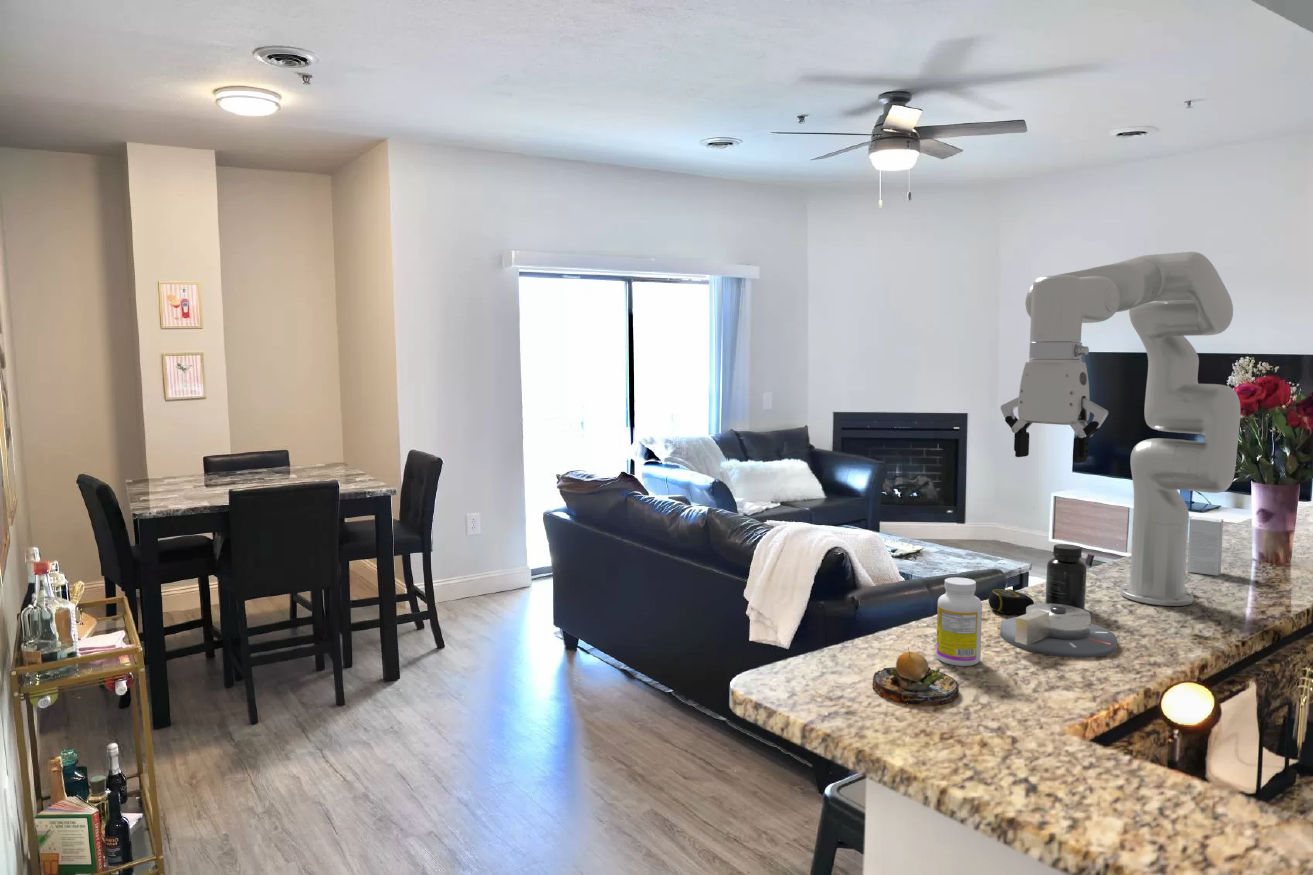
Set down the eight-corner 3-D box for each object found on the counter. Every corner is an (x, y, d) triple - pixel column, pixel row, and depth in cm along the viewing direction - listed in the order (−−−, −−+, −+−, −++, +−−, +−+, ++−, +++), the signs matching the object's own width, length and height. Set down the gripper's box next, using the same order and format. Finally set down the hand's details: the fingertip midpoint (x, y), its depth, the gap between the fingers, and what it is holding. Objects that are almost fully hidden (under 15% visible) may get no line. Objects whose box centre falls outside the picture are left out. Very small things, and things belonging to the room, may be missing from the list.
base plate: (1033, 617, 165) (1033, 609, 165) (1135, 641, 151) (1135, 633, 151) (979, 637, 153) (979, 628, 153) (1085, 665, 140) (1085, 656, 139)
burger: (975, 697, 128) (977, 645, 127) (918, 714, 122) (919, 661, 121) (910, 671, 138) (912, 624, 137) (854, 686, 132) (855, 637, 131)
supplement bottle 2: (1065, 602, 175) (1068, 541, 173) (1093, 611, 168) (1096, 549, 167) (1037, 605, 172) (1039, 544, 171) (1063, 615, 166) (1066, 551, 165)
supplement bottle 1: (948, 650, 147) (951, 573, 146) (987, 660, 142) (990, 580, 141) (928, 660, 142) (930, 580, 141) (967, 670, 137) (970, 588, 136)
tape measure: (1035, 616, 166) (1036, 596, 166) (1003, 618, 165) (1003, 598, 164) (1012, 605, 173) (1013, 586, 172) (980, 608, 171) (981, 589, 171)
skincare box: (1221, 572, 198) (1224, 519, 197) (1218, 576, 194) (1221, 521, 193) (1189, 568, 201) (1192, 515, 200) (1186, 572, 198) (1189, 518, 197)
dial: (1043, 616, 159) (1044, 594, 159) (1100, 630, 151) (1102, 606, 151) (992, 636, 148) (993, 611, 148) (1050, 651, 141) (1052, 626, 140)
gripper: (1120, 353, 140) (1115, 462, 142) (1016, 353, 153) (1012, 452, 155) (1098, 354, 135) (1092, 466, 137) (992, 353, 149) (988, 456, 150)
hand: (1050, 459), depth 146 cm, fingers open, 9 cm apart
